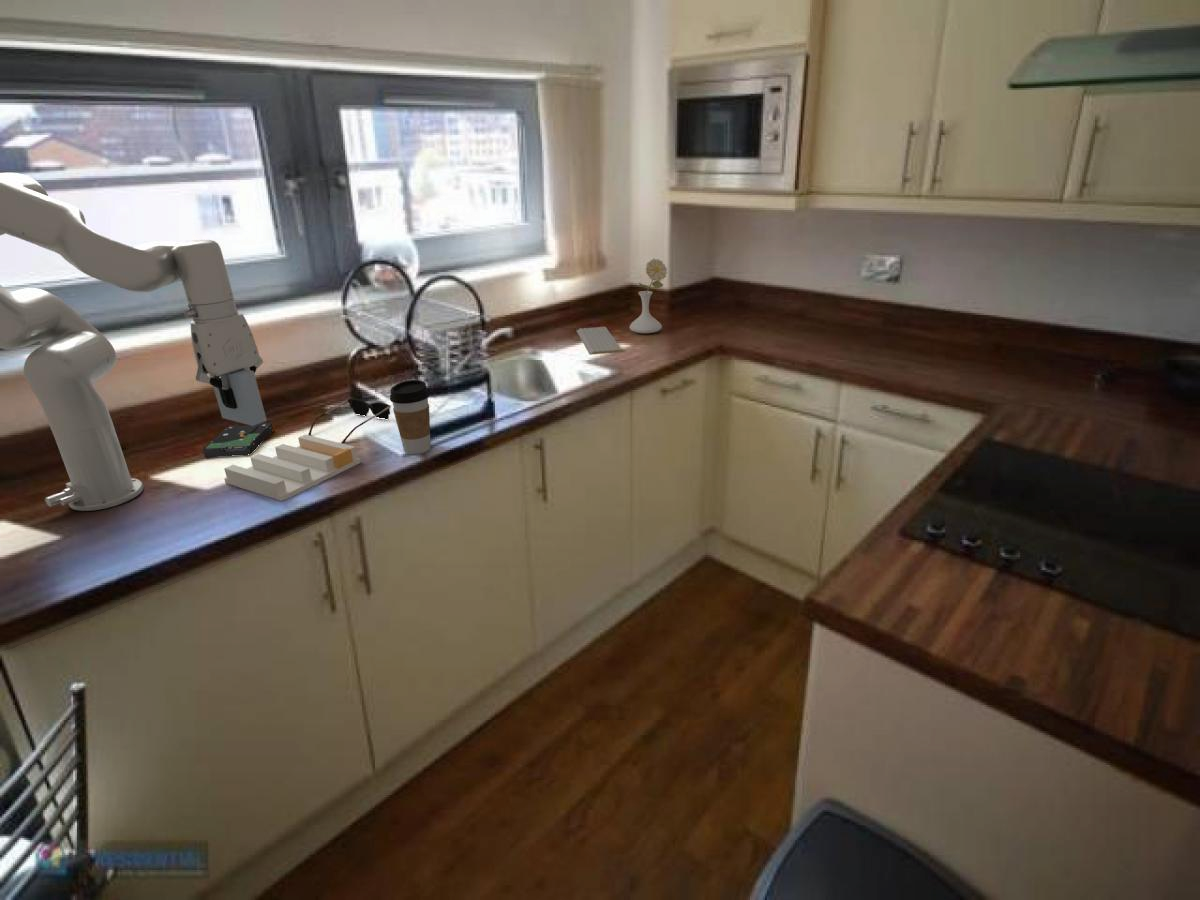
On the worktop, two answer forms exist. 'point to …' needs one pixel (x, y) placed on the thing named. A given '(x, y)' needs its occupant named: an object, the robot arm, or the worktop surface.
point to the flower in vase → (645, 320)
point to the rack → (293, 467)
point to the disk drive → (237, 440)
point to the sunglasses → (362, 411)
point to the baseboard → (598, 340)
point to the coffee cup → (412, 415)
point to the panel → (243, 399)
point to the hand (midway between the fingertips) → (240, 403)
